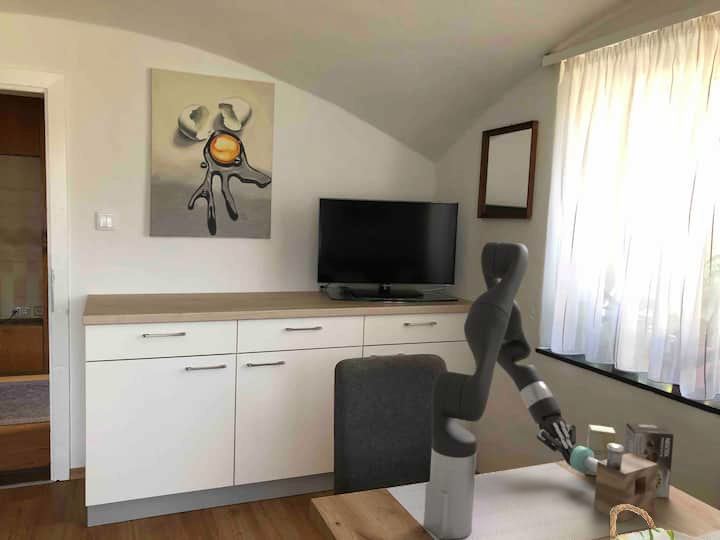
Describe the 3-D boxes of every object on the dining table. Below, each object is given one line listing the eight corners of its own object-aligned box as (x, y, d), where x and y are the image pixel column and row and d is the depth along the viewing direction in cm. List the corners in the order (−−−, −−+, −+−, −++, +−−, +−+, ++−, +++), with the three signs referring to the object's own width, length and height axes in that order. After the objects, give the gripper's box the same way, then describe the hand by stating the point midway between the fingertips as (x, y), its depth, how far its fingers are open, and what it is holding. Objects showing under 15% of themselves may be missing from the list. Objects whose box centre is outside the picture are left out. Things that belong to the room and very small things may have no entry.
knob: (616, 494, 132) (619, 469, 132) (568, 471, 144) (570, 447, 143) (633, 489, 135) (635, 464, 135) (585, 466, 147) (586, 444, 146)
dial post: (615, 471, 128) (617, 450, 128) (602, 465, 131) (603, 444, 131) (625, 468, 130) (627, 447, 130) (612, 462, 133) (613, 442, 133)
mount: (620, 521, 128) (624, 473, 127) (593, 507, 134) (597, 461, 133) (653, 509, 134) (658, 464, 133) (626, 496, 140) (630, 452, 139)
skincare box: (586, 474, 152) (589, 429, 151) (583, 468, 156) (587, 423, 155) (612, 478, 150) (616, 432, 149) (609, 471, 154) (613, 426, 153)
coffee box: (658, 486, 147) (664, 424, 145) (669, 498, 140) (675, 434, 139) (621, 483, 147) (626, 421, 146) (630, 495, 141) (635, 431, 140)
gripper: (530, 398, 150) (565, 462, 140) (565, 392, 156) (601, 453, 147) (514, 412, 155) (547, 475, 145) (549, 405, 161) (582, 465, 152)
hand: (574, 464), depth 146 cm, fingers closed
